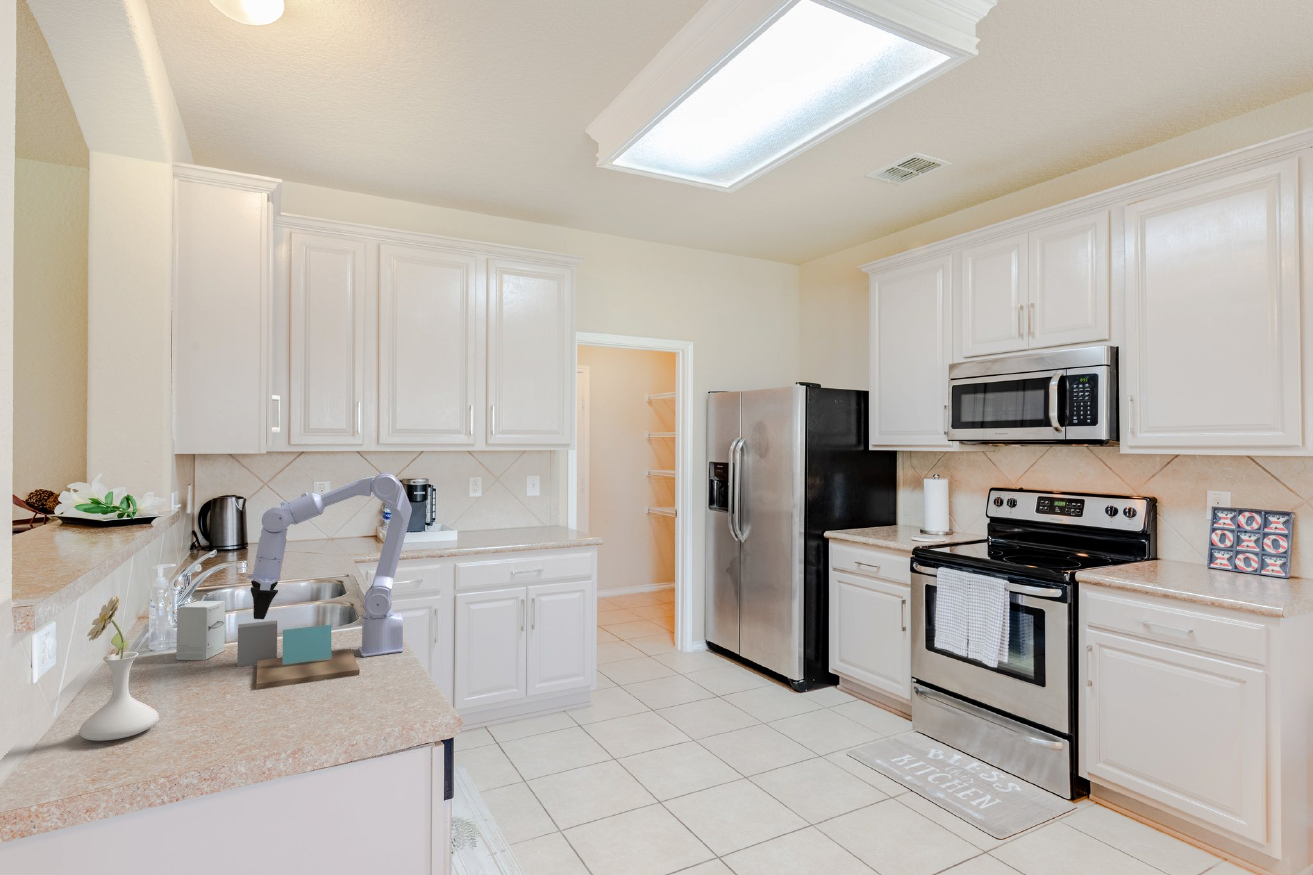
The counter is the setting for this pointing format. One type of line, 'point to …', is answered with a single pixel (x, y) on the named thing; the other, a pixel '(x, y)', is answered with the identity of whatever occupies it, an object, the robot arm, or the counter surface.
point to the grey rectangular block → (256, 642)
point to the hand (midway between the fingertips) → (259, 614)
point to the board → (305, 670)
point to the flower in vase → (117, 690)
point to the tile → (306, 644)
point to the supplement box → (200, 630)
